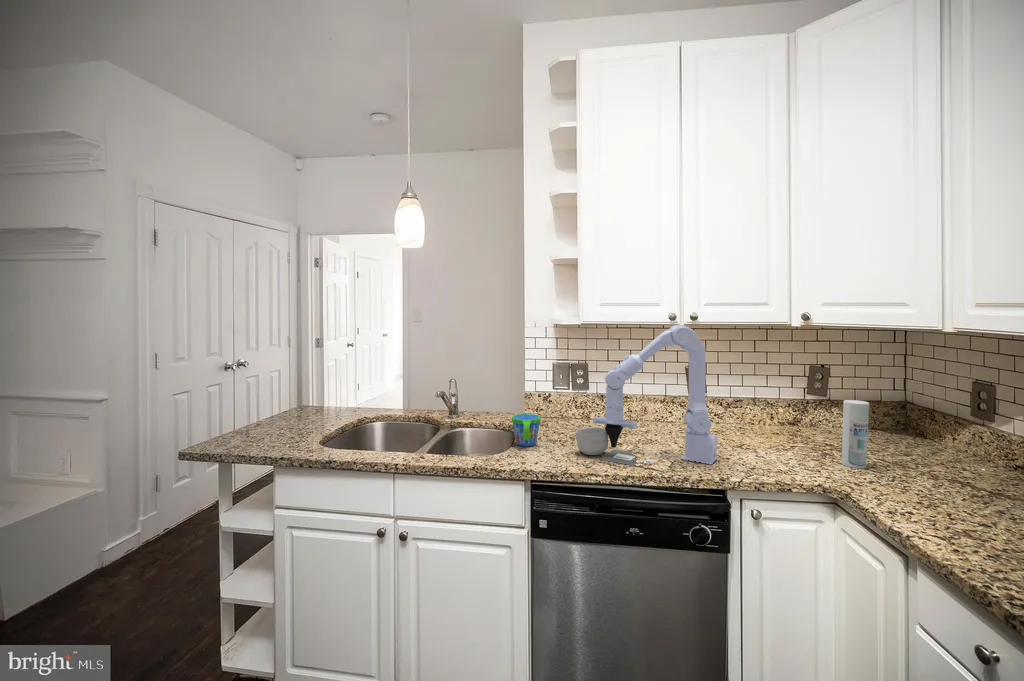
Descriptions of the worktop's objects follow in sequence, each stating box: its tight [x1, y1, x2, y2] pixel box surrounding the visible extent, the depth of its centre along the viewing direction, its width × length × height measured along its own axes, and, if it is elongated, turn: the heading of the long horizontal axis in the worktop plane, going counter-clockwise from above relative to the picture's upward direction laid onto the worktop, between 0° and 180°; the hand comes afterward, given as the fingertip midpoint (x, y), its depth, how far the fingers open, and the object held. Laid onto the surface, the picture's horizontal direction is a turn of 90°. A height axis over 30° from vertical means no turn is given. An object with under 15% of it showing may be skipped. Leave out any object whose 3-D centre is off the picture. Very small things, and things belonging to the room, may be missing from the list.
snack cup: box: [511, 413, 542, 447], centre depth 171 cm, size 16×10×10 cm
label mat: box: [598, 448, 654, 466], centre depth 153 cm, size 21×13×1 cm, turn 56°
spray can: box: [841, 399, 870, 469], centre depth 147 cm, size 6×6×20 cm
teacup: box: [574, 426, 609, 456], centre depth 160 cm, size 14×11×8 cm
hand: (613, 447), depth 157 cm, fingers closed
